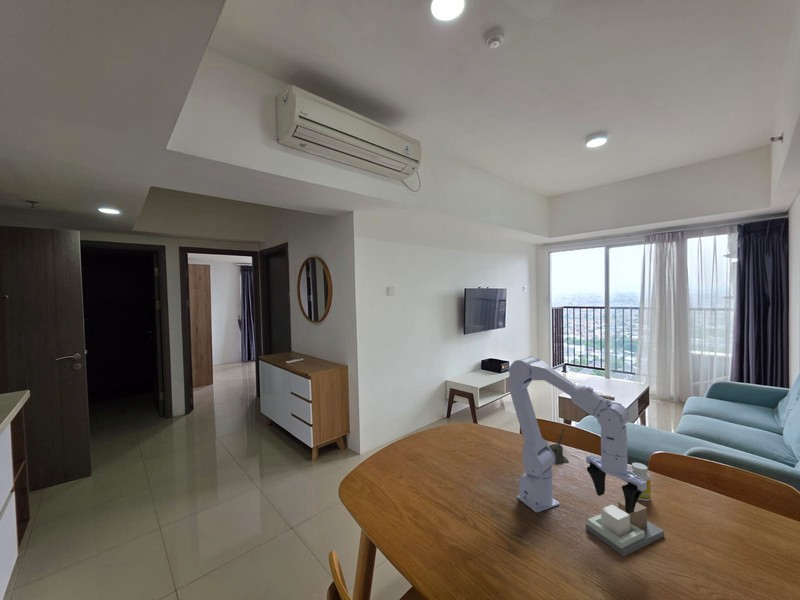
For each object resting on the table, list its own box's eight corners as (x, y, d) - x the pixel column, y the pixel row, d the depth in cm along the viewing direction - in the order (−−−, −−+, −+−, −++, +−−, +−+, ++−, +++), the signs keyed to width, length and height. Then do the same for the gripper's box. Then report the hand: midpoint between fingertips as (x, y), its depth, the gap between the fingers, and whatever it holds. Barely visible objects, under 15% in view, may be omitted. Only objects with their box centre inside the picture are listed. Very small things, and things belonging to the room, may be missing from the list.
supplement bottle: (625, 493, 101) (624, 463, 101) (636, 489, 103) (636, 459, 103) (643, 503, 96) (642, 471, 96) (655, 499, 98) (654, 468, 98)
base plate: (623, 556, 77) (623, 529, 77) (585, 528, 86) (585, 505, 86) (664, 536, 83) (663, 511, 83) (624, 512, 92) (624, 490, 92)
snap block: (618, 539, 80) (618, 519, 80) (601, 527, 84) (600, 509, 84) (630, 534, 82) (629, 514, 82) (612, 522, 86) (612, 504, 86)
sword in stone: (542, 462, 121) (541, 430, 121) (538, 453, 128) (537, 423, 129) (571, 465, 118) (570, 432, 119) (565, 455, 126) (564, 425, 126)
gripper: (654, 461, 78) (655, 515, 78) (597, 437, 91) (598, 484, 91) (635, 467, 75) (636, 524, 75) (580, 441, 88) (581, 490, 89)
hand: (614, 502), depth 83 cm, fingers open, 7 cm apart
